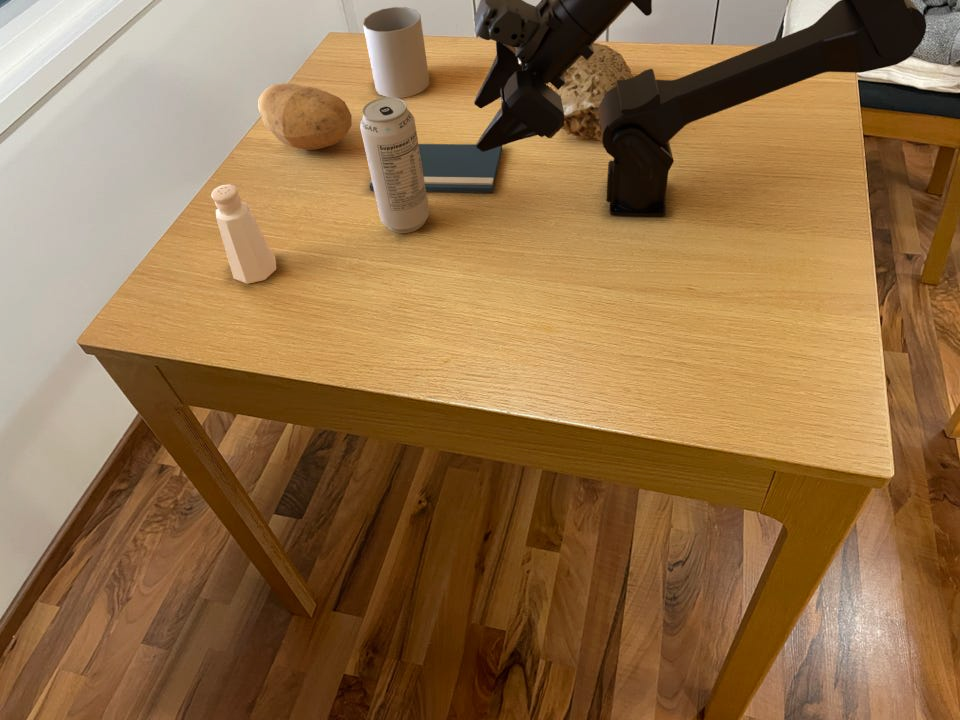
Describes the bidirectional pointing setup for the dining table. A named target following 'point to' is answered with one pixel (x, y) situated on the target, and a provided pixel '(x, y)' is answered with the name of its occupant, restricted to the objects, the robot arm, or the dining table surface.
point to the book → (458, 168)
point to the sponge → (590, 89)
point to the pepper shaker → (242, 237)
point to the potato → (304, 115)
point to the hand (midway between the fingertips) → (478, 126)
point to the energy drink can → (395, 164)
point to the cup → (397, 51)
